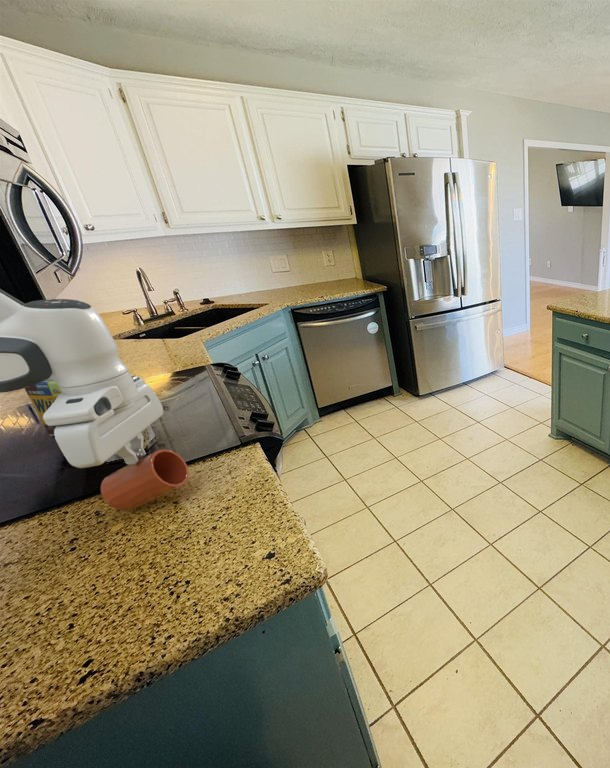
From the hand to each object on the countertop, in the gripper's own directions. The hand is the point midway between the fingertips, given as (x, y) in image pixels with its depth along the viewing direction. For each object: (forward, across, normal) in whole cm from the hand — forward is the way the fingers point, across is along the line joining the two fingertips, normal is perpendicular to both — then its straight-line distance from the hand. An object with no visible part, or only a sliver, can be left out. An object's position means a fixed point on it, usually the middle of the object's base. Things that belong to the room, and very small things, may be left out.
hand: (137, 459), depth 76 cm
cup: (+6, 0, -5) cm, 8 cm away
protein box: (+8, -43, -35) cm, 56 cm away
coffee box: (+9, -23, -16) cm, 30 cm away
